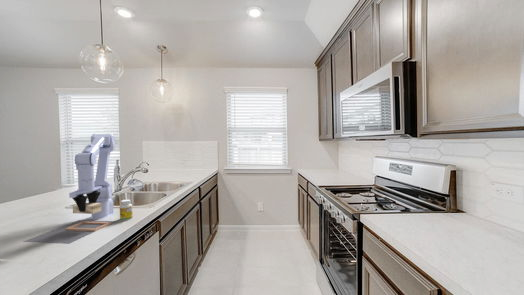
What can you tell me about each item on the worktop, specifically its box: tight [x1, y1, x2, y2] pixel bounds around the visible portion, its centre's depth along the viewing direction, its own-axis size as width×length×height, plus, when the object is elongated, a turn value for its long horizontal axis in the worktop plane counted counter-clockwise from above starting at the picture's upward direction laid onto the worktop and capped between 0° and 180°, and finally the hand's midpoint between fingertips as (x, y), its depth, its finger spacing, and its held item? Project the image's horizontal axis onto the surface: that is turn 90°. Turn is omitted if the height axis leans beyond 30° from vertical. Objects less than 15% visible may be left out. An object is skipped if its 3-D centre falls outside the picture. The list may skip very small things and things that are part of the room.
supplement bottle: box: [119, 199, 134, 221], centre depth 114 cm, size 5×5×10 cm
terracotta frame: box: [66, 221, 112, 232], centre depth 103 cm, size 9×14×1 cm, turn 83°
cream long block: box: [72, 202, 102, 215], centre depth 103 cm, size 10×4×4 cm, turn 83°
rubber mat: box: [22, 219, 117, 245], centre depth 99 cm, size 24×20×1 cm
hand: (87, 209), depth 103 cm, fingers closed on cream long block, 4 cm apart
